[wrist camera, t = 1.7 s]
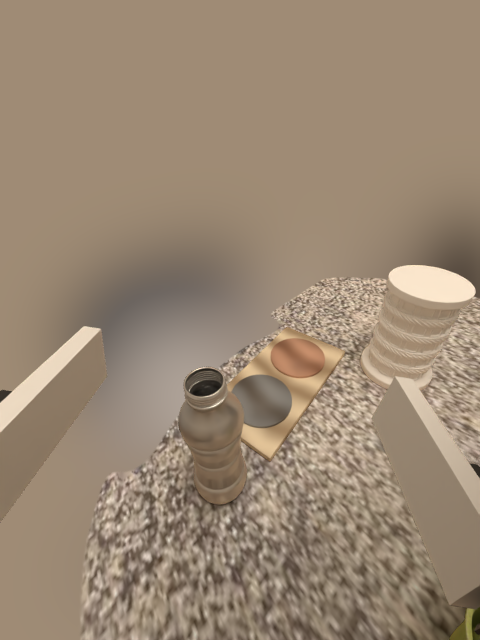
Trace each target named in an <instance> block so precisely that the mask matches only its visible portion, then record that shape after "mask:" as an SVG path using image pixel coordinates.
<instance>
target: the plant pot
mask: <svg viewBox="0 0 480 640" xmlns="http://www.w3.org/2000/svg"><path fill="white" fill-rule="evenodd" d="M479 623H480V607H479V608H477V609H470V608H466V613H465V620H464V621H463V622H462V624H461V625H460V626H459V627H458V628H457V629H456V630H455V631H454V632H453V633H452V635H451V636H450V639H449V640H480V635H478V634H476V633H475V632H474V630H475V628H476V626H477V625H478V624H479Z"/></svg>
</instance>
